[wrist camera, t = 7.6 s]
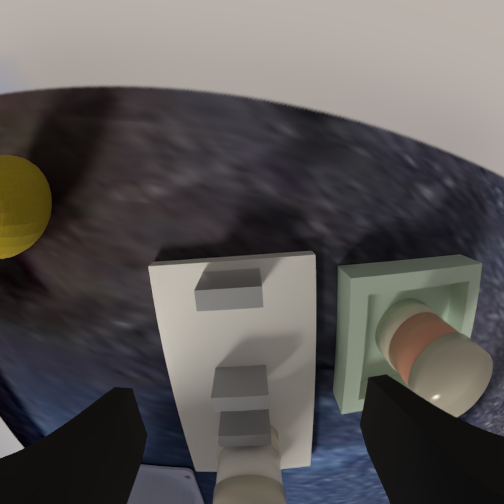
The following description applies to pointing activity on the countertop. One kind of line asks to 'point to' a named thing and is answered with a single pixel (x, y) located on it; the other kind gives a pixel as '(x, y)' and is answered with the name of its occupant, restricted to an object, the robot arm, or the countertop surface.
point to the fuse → (250, 474)
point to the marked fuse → (433, 356)
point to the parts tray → (381, 299)
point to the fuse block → (240, 351)
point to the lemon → (22, 204)
